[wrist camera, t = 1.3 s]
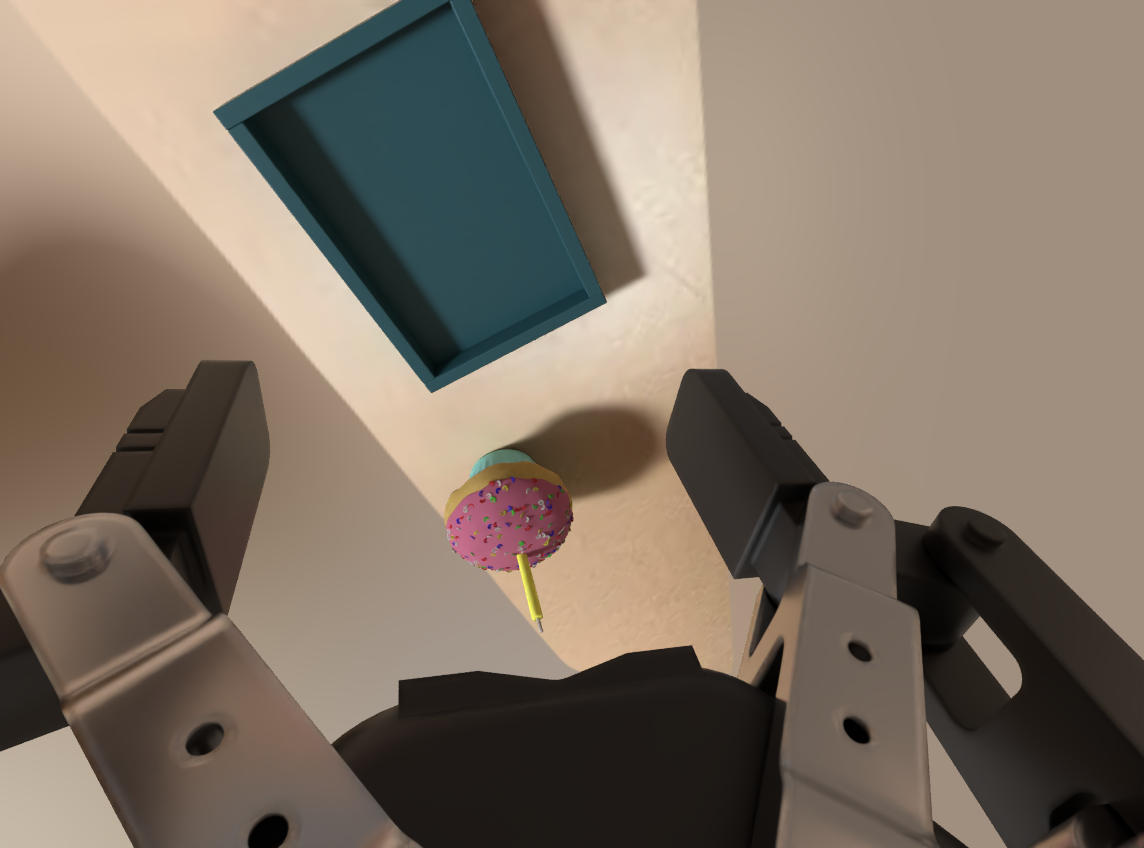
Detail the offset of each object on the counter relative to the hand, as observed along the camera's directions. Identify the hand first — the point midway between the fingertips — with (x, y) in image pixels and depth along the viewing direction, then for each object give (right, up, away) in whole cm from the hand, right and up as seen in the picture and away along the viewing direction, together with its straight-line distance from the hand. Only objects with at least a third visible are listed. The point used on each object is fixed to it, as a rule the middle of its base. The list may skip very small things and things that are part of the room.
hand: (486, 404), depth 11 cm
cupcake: (-3, -4, +31) cm, 32 cm away
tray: (-5, +11, +19) cm, 23 cm away
